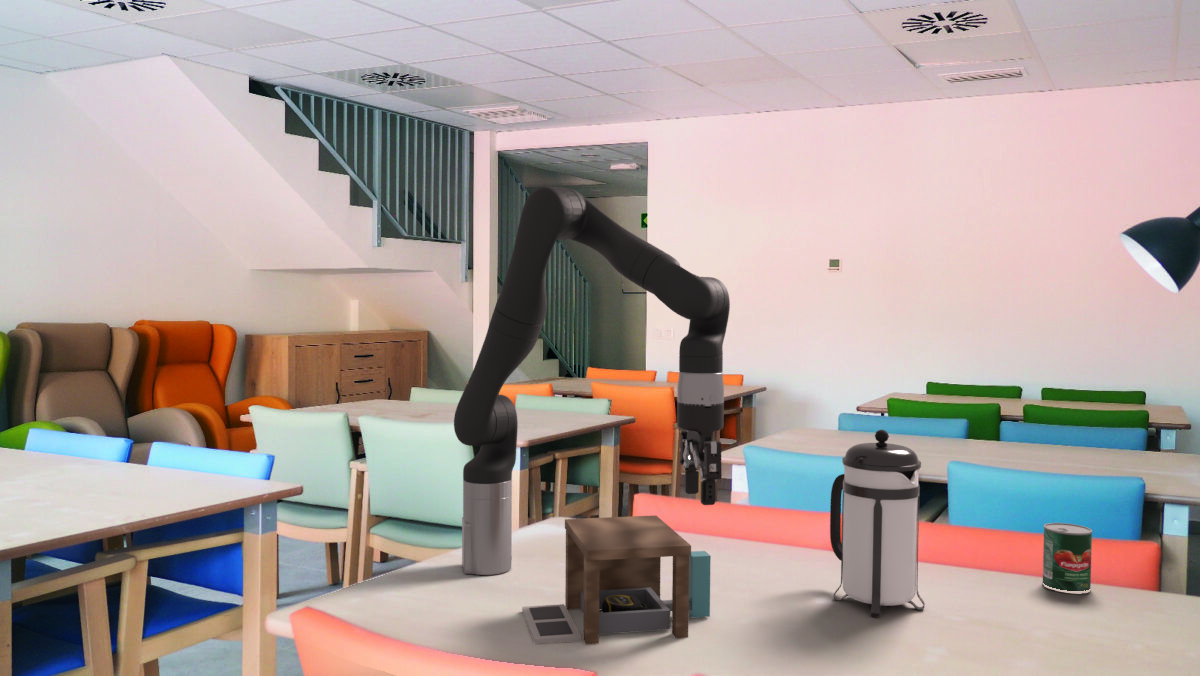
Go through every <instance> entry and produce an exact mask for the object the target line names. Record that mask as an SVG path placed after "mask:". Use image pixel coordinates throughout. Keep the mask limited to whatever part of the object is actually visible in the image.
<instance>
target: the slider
mask: <svg viewBox="0 0 1200 676" xmlns="http://www.w3.org/2000/svg"><path fill="white" fill-rule="evenodd" d="M711 556H712V555H710V554H709V553H708V552H707V551H706V550H695V551H693V550H691V555H689V607H688V616H690V617H691V619H693V618H694V619H697V618H706V617H711ZM631 594H632V595H634V596H635V597H636V598H637V599H638V600H639V601H641V602H642V603H643V604H645V605H646V606H647V607H648V609H649V610H636V611H620V612H605V613H602V612H600V611H602V604H603V602H604V600H605V598H607V597H609V596H612V595H631ZM579 610H580V611H581V612H582V614H583V615H584V591H580V609H579ZM671 612H672V599H663V600H662V599H661V597H660V598H659V597H658V595H657V594H656V593H655V592H654V591H653V590H652V588H651V587H645V588H628V589H611V590H599V635H608V634H623V633H636V632H637V633H638V632H639V633H640V632H651V631H667V630H671Z"/></svg>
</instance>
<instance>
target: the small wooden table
mask: <svg viewBox="0 0 1200 676" xmlns="http://www.w3.org/2000/svg"><path fill="white" fill-rule="evenodd" d="M564 530H565V594H564V595H565V597H564V598H565V600H564V601H565V603H564V605H565V607H566V609H567V611H569V610H581V609H580V591H584V615H583V616H582V617H583V618H582V619H583V622H582V623H583V624H582V625H583V631H582V633H583V636H582V637H583V638H582V640H583V641H584V644H585V645H597V644H598V645H599V644H600V634H599V612H600V610H599V590H611V589H628V588H645V587H651V588H652V590H653V591H654V592H655V593H656V594H657V595H658V597H659V598H660V599H661V558H663V557H672V580H671V581H672V586H671V587H672V588H671V589H672V590H671V595H672V596H671V600H672V611H671V634H672V636H673V637H674V638H675V639H681V638H684V639H685V638H689V614H688V607H689V555H691V552H692V545H691V544H690V543H689V542H688V541H686V540H685V539H684V538H683V537H682V536H681V535H679V534H678V533H677V532H676V531H675V530H674V529H673V528H671V526H670V525H668V524H667V523H666V522H664V520H662V519H661V518H660V516H658V515H633V516H614V517H613V516H611V517H592V518H591V517H589V518H587V517H586V518H585V517H584V518H565V519H564Z"/></svg>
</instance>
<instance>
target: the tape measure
mask: <svg viewBox="0 0 1200 676" xmlns="http://www.w3.org/2000/svg"><path fill="white" fill-rule="evenodd" d="M636 610H649V609H648V607H647V606H646V605H645V604H643V603H642V602H641V601H639V600H638V599H637V598H636V597H635V596H634V595H632V594H631V595H612V596H609V597H607V598H605V600H604V602H603V604H602V610H601V613H605V612H620V611H636Z"/></svg>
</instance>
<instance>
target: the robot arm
mask: <svg viewBox="0 0 1200 676" xmlns="http://www.w3.org/2000/svg"><path fill="white" fill-rule="evenodd" d="M557 240H558V241H560V240H561V241H562V240H563V241H564V240H565V241H566V240H571V241H574V242H576V243H579V244H582V245H585V246H587V247H588V248H589V247H590V248H591V249H593V250H595V251H596V252H598V253H599V254H600V255H602V256H603V257H604V259H606V260H607V262H608V263H609V264H610V265H611V266H612V267H613V268H614V269H615V270H616V271H617V272H618V273H620V274H621V276H623V277H624V278H625V279H627V280H629V282H632V283H633V284H635V285H637V286H638V287H640V288H641V289H643V290H645V291H647V292H649V293H650V294H652V295H654V296H655V297H656V298H657V299H658V300H659V301H660V302H661V303H663V305H665V306H666V307H668V308H669V310H671V311H672V312H674V313H675V314H676V315H678V316H680V317H681V318H684V319H687V320H689V325H688V326H689V327H688V332H687V334H686V335H685V336H684V337H683V338H682V339H681V341H680V344H679V353H678V355H679V356H678V362H679V363H678V368H679V369H678V371H679V372H678V379H677V398H676V401H677V403H676V404H677V405H676V406H677V408H676V411H677V412H676V415H677V416H676V425H677V428H678V429H680V446H679V447H680V450H679V451H680V453H679V463H680V465H681V466H682V469H683V471H684V493H686V494H687V495H696V494H698V493H699V486H700V504H702V505H703V506H713V505H715V504H716V482H717V481H718V480H722V476H723V474H722V442H721V441H720V440H714V432H715V431H721V430H723V429H724V426H725V425H724V420H725V419H724V418H725V417H724V414H725V410H724V409H725V405H724V404H725V386H724V385H725V383H724V377H723V376H724V373H723V370H724V369H723V368H724V366H723V365H724V364H723V363H724V362H723V360H724V359H723V357H724V355H723V354H724V353H723V345H724V340H725V336H726V333H727V327H728V321H729V317H730V308H731V307H730V306H731V301H730V294H729V290H728V288H727V287H726V285H725V284H724V283H723V281H721V280H720V279H718V278H715V277H710V276H699V275H696V274H694V273H692V272H691V271H689V270H687V269H685V268H684V267H683V266H681V264H680V262H679V261H678V260H677V259H676V258H675V257H673V256H672V255H670V254H669V253H667V252H665V251H664V250H662V249H660V248H659V247H656V246H655V245H653V244H652V243H650V242H648V241H646V240H644V239H643V238H641V237H639V236H637V235H636V234H634V233H633V232H631V231H629V230H628V229H626V228H625V227H623V226H621V225H620V224H618V222H616V221H614V220H613V219H611V218H610V217H609V216H608V215H607V214H605V213H604V212H603V211H602V210H601V209H599V208H598V207H597V206H595V204H593V203H592V202H591V201H590V200H589V199H587V198H586V196H584V195H582V194H581V193H580V192H578V191H577V190H575V189H573V188H570V187H562V186H547V185H546V186H540V187H538V188H535V189H534V190H533V191H532V192H530V194H529V195H528V197H527V198H526V199H525V202H524V204H523V207H522V211H521V215H520V217H519V223H518V227H517V232H516V236H515V240H514V241H515V242H514V246H513V249H512V250H513V251H512V254H511V258H510V260H509V263H508V266H507V270H506V273H505V277H504V280H503V283H502V286H501V290H500V293H499V295H498V298H497V300H496V303H495V306H494V309H493V312H492V315H491V318H490V321H489V325H488V327H487V332H486V335H485V337H484V341H483V343H482V346H481V349H480V351H479V353H478V357H477V359H476V363H475V364H474V367H473V370H472V373H471V375H470V377H469V378H468V381H467V383H466V385H465V387H464V390H463V392H462V394H461V396H460V399H459V401H458V403H457V406H456V409H455V413H454V418H453V430H454V434H455V436H456V438H457V440H458V441H459V442H460V443H461V444H462V445H465V446H470V447H475V446H476V447H478V446H480V449H479V451H478V453H476V455H475V456H474V457H473V458H472V459H470V460H469V461H468V462H466V463H465V465H464V467H463V469H462V471H463V472H462V477H463V478H462V481H463V482H462V483H463V484H462V512H463V513H462V516H461V531H462V532H461V536H462V537H461V566H462V570H463V574H464V575H467V574H472V575H479V576H480V575H481V576H492V575H498V574H504V573H507V572H509V571H510V570H511V569H512V559H513V558H512V557H513V555H512V545H513V544H512V541H513V540H512V536H513V535H512V529H513V525H512V522H513V521H512V520H513V519H512V517H513V516H512V513H513V510H512V509H513V507H512V505H513V503H512V502H513V501H512V499H513V497H512V495H513V491H512V488H513V486H512V485H513V484H512V482H513V480H512V479H513V470H514V468H515V465H516V460H517V446H518V445H517V443H518V429H519V428H518V427H519V426H518V423H519V422H518V413H517V410H516V407H515V405H514V403H513V401H512V400H511V399H510V398H509V397H508V396H506V395H504V394H500V392H501V390H502V387H503V386H504V384H505V383H506V381H507V380H508V379H509V378H510V376H511V375H512V374H513V373H514V372H515V370H516V369H517V368H518V367H519V366H520V365H521V364H522V363H523V361H525V359H527V357H528V355H530V353H531V352H532V350H533V349H534V347H536V346H535V345H536V343H537V341H538V339H539V337H540V334H541V331H542V327H543V325H544V322H545V319H546V315H547V310H548V300H547V299H548V298H547V297H548V296H547V289H546V279H545V277H546V270H547V266H548V263H549V259H550V257H551V253H552V251H553V249H554V246H555V245H556V242H557ZM699 477H700V480H699ZM699 481H700V482H699ZM699 483H700V485H699Z"/></svg>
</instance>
